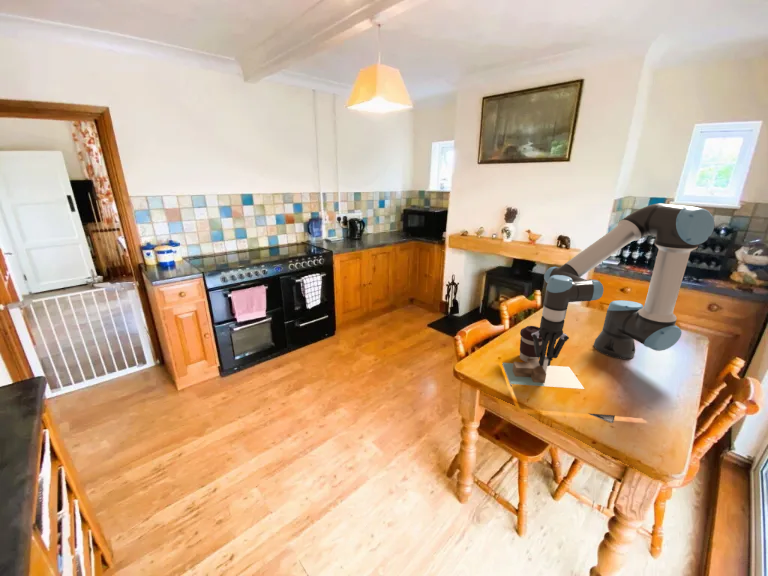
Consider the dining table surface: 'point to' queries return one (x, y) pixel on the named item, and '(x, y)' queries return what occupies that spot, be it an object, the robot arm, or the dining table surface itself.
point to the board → (554, 377)
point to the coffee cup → (528, 343)
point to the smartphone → (605, 417)
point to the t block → (530, 370)
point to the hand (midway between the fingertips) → (542, 372)
